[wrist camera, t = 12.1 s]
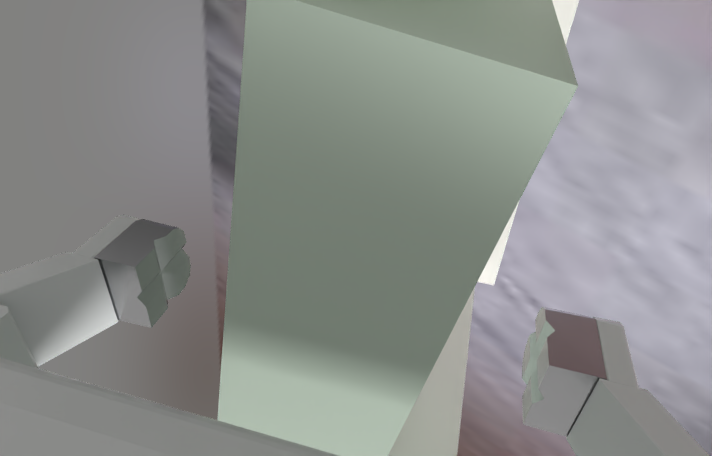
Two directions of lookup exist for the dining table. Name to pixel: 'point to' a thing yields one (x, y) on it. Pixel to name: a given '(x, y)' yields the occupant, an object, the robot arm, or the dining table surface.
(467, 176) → the shelf board
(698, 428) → the dining table surface
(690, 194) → the dining table surface
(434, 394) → the shelf unit
